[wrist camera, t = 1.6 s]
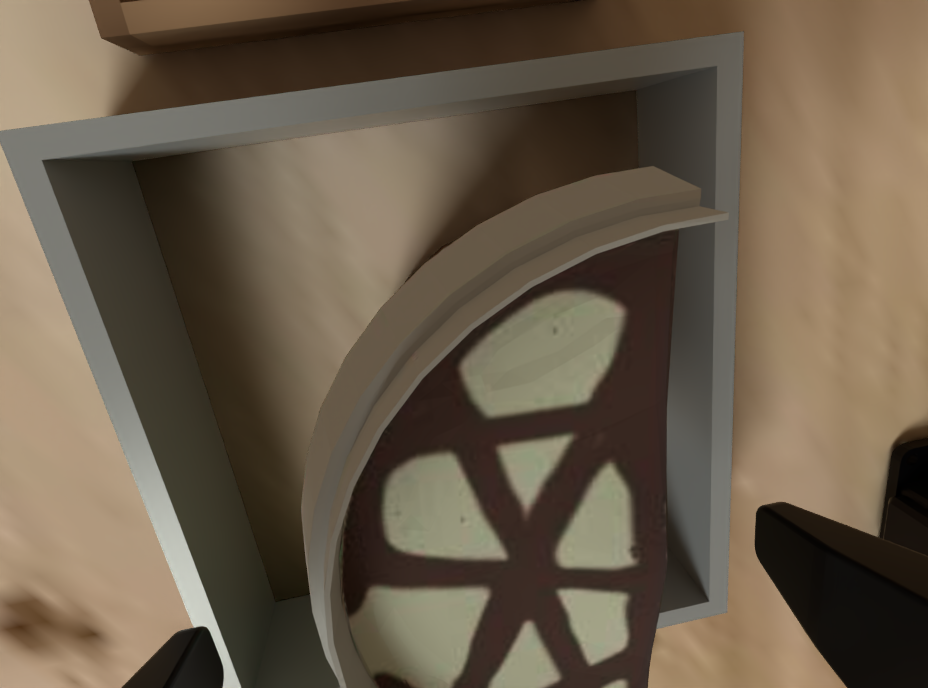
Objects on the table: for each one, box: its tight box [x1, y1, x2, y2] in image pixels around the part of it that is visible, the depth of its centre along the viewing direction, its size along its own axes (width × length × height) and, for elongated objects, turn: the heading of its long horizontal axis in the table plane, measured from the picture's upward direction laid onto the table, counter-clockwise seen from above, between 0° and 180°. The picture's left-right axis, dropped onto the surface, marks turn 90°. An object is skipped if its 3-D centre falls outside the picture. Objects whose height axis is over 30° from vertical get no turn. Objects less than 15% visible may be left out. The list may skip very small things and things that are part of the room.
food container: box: [301, 166, 729, 688], centre depth 13 cm, size 12×6×10 cm, turn 3°
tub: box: [0, 31, 744, 688], centre depth 15 cm, size 15×16×4 cm
